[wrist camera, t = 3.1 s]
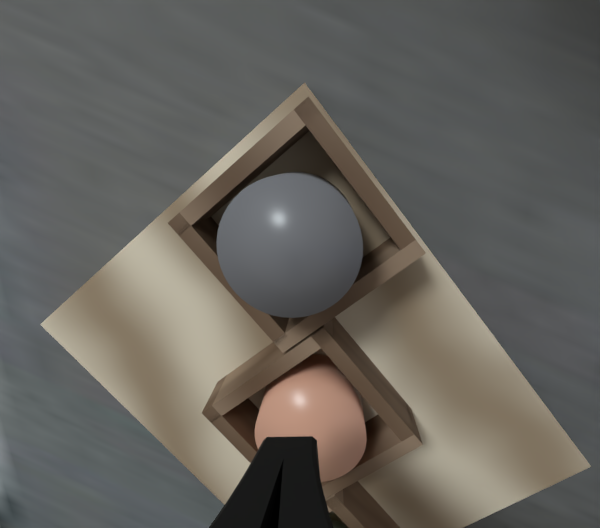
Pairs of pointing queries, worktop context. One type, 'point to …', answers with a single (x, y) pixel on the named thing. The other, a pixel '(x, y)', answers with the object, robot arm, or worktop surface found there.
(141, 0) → the worktop surface
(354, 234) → the charcoal button
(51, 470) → the worktop surface
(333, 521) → the sage button
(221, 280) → the button panel
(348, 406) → the terracotta button
